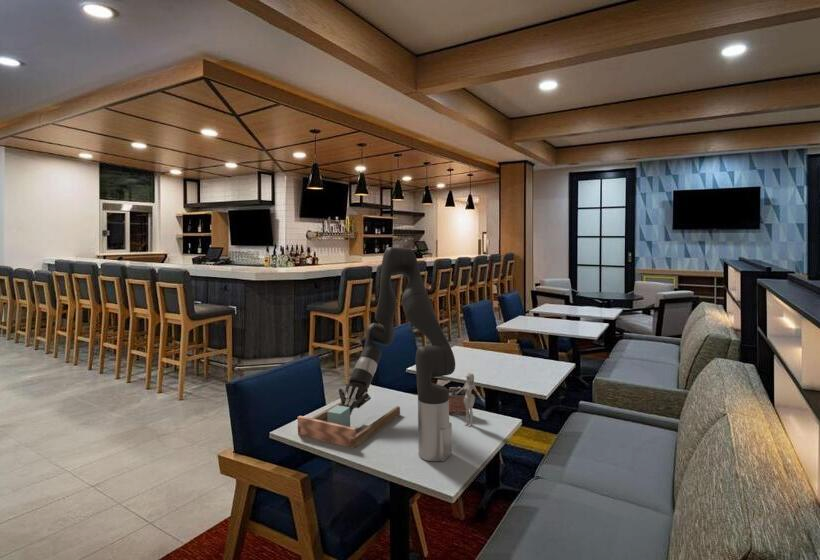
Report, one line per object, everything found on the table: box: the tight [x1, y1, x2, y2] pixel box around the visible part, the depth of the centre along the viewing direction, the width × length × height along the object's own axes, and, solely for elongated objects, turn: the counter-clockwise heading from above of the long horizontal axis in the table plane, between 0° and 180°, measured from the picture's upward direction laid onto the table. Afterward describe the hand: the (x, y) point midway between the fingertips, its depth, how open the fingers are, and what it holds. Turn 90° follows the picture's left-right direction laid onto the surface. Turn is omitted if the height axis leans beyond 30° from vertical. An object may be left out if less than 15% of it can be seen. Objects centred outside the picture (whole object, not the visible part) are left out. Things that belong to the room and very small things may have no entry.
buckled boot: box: [448, 386, 466, 417], centre depth 169 cm, size 8×3×10 cm, turn 84°
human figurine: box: [455, 372, 486, 428], centre depth 159 cm, size 12×4×18 cm, turn 47°
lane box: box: [297, 401, 401, 449], centre depth 161 cm, size 22×29×6 cm
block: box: [327, 405, 351, 427], centre depth 154 cm, size 5×6×8 cm
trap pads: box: [326, 420, 369, 434], centre depth 159 cm, size 18×8×1 cm, turn 62°
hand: (344, 417), depth 158 cm, fingers closed
